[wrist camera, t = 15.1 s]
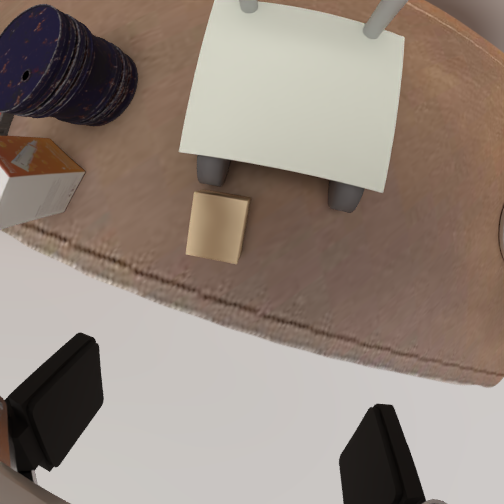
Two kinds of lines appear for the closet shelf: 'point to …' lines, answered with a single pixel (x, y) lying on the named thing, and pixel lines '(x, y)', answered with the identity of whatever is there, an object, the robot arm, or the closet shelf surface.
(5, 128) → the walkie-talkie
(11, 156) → the small box
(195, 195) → the block
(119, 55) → the dark blue cylinder
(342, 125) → the trolley
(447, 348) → the closet shelf surface
